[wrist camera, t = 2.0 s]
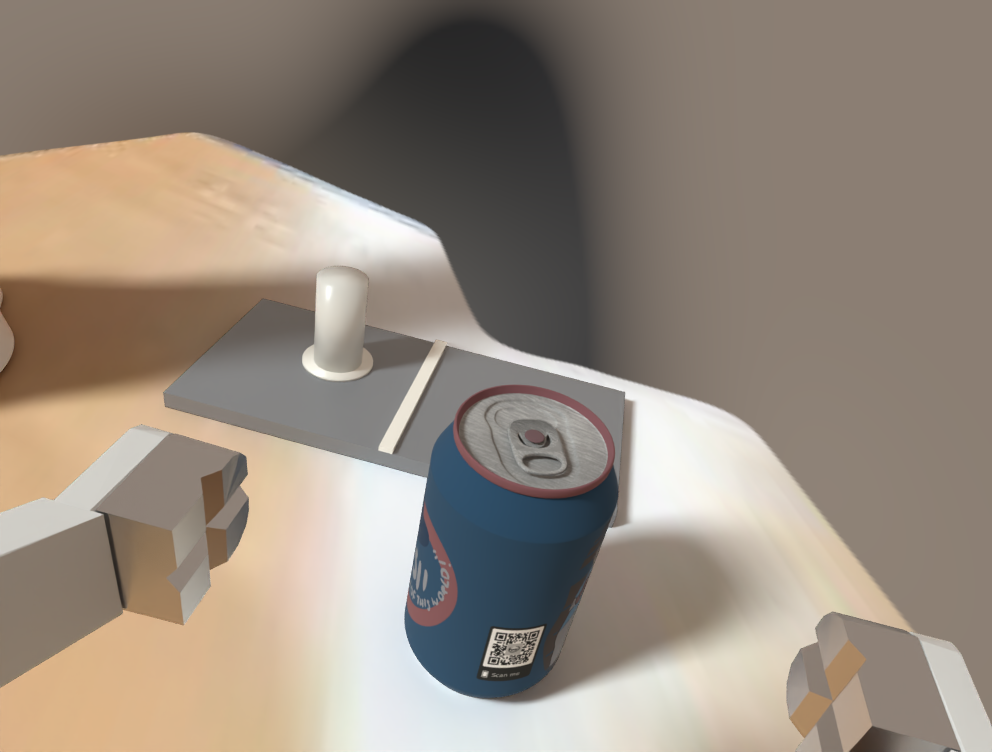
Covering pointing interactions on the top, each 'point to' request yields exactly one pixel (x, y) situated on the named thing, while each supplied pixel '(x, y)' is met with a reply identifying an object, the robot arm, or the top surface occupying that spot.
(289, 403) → the board
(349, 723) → the top surface
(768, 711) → the top surface
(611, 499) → the soda can
